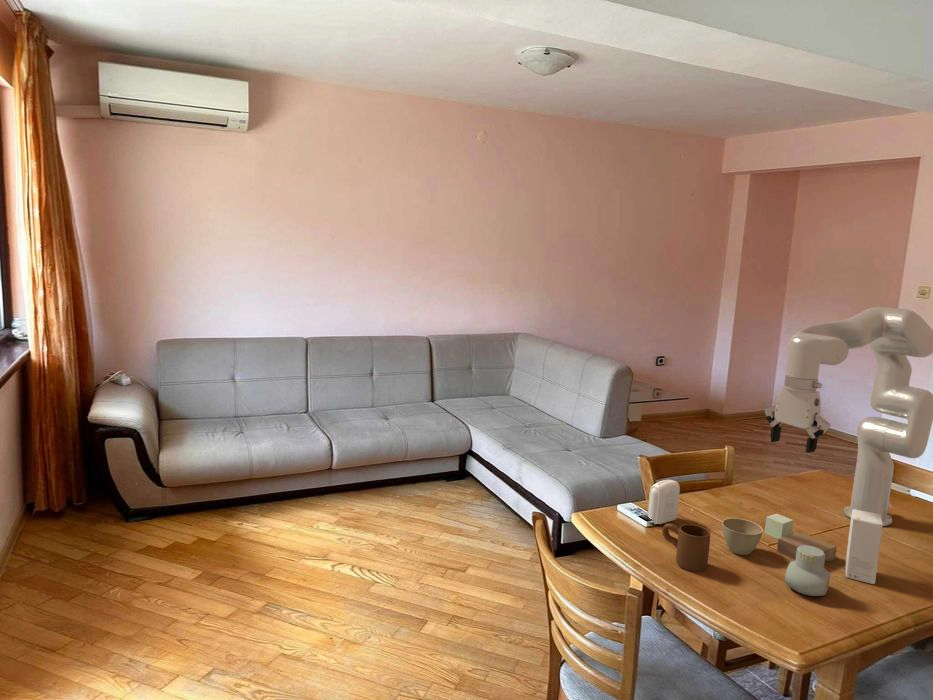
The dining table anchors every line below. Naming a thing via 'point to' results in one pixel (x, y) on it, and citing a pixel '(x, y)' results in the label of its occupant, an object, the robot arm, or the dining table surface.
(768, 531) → the sage cube
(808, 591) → the air freshener
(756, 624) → the dining table surface
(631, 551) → the dining table surface
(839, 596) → the dining table surface
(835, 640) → the dining table surface
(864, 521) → the skincare box
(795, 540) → the brown flat block
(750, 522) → the flower pot
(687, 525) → the mug
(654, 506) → the photo printer
